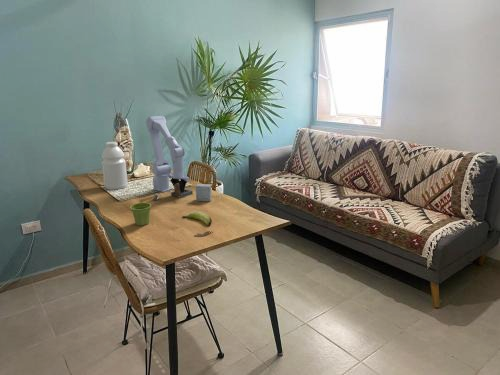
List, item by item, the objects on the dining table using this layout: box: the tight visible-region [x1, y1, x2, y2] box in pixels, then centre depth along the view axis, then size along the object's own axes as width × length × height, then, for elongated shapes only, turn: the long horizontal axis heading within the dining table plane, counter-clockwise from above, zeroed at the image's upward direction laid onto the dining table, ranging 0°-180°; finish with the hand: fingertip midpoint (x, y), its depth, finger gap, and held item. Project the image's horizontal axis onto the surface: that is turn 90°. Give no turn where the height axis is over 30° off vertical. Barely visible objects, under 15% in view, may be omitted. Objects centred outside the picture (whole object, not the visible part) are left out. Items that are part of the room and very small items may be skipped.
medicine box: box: [195, 183, 213, 202], centre depth 206 cm, size 8×4×9 cm, turn 84°
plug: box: [173, 183, 185, 198], centre depth 214 cm, size 4×4×7 cm
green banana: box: [181, 209, 214, 238], centre depth 177 cm, size 35×27×4 cm
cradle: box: [170, 188, 194, 199], centre depth 216 cm, size 8×10×2 cm
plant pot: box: [129, 202, 152, 226], centre depth 173 cm, size 9×9×9 cm
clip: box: [138, 193, 159, 203], centre depth 203 cm, size 12×2×2 cm, turn 144°
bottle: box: [100, 141, 129, 191], centre depth 228 cm, size 14×14×28 cm
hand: (179, 191), depth 214 cm, fingers closed on plug, 4 cm apart
